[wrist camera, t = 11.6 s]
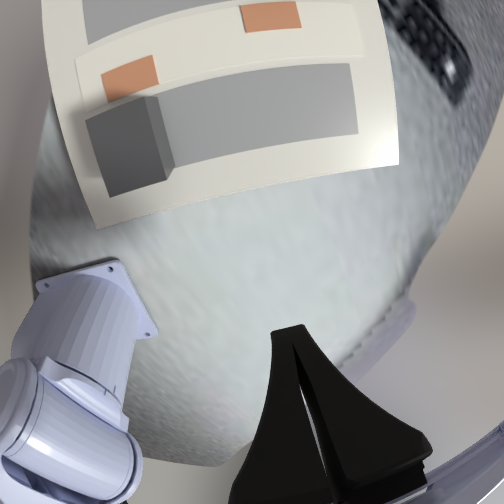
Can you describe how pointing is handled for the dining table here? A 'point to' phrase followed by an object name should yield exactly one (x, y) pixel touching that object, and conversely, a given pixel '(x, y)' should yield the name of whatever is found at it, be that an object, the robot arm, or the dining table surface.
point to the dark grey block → (131, 145)
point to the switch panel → (224, 91)
